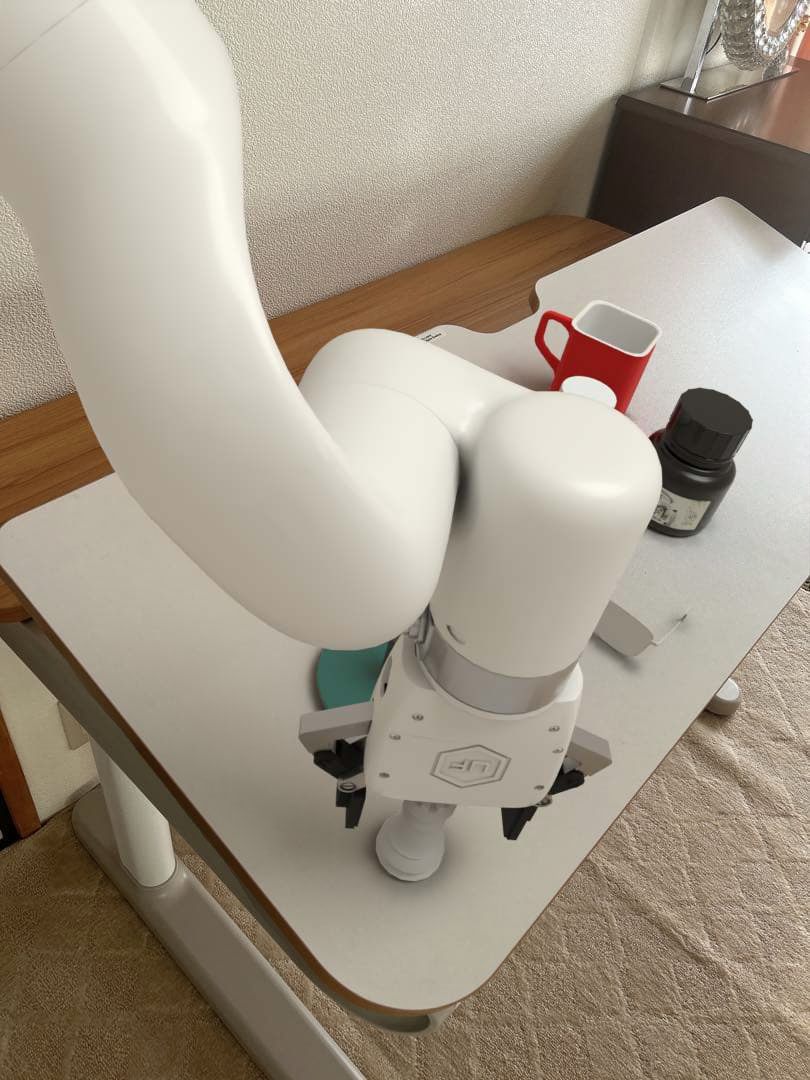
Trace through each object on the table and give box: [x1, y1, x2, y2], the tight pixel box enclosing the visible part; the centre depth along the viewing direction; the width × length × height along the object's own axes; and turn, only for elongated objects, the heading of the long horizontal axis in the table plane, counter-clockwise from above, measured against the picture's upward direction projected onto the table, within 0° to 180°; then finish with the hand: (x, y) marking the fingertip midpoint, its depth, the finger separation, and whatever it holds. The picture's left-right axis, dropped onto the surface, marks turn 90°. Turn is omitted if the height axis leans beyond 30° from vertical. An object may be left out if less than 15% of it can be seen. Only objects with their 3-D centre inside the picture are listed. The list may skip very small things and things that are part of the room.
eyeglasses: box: [594, 599, 688, 658], centre depth 76 cm, size 14×8×4 cm, turn 48°
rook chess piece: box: [375, 800, 458, 882], centre depth 55 cm, size 4×4×8 cm
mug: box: [534, 299, 664, 416], centre depth 94 cm, size 12×8×11 cm
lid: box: [315, 634, 401, 710], centre depth 64 cm, size 12×12×6 cm
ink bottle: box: [647, 387, 754, 537], centre depth 83 cm, size 10×9×12 cm
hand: (430, 811), depth 54 cm, fingers open, 9 cm apart
